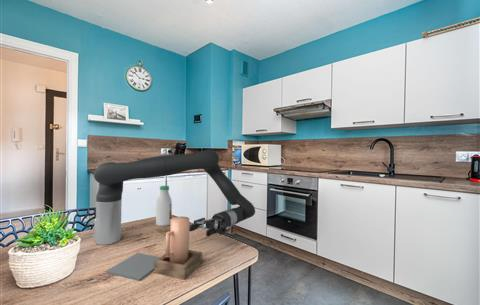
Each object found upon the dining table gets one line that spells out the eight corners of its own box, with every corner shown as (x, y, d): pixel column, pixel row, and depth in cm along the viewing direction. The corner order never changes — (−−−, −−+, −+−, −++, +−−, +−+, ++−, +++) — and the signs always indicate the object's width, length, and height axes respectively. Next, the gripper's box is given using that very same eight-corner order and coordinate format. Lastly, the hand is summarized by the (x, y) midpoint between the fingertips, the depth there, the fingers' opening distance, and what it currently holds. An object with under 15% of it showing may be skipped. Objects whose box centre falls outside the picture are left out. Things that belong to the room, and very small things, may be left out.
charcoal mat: (106, 272, 67) (106, 270, 67) (137, 254, 80) (137, 252, 80) (139, 281, 63) (139, 279, 63) (167, 260, 76) (167, 258, 76)
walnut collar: (154, 272, 68) (154, 261, 68) (174, 256, 78) (174, 247, 78) (184, 279, 65) (184, 268, 65) (201, 262, 75) (202, 252, 75)
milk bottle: (166, 227, 109) (167, 187, 109) (152, 225, 111) (153, 186, 111) (174, 222, 117) (174, 185, 117) (161, 221, 118) (161, 184, 118)
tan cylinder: (179, 260, 76) (180, 215, 76) (192, 266, 72) (193, 218, 72) (159, 271, 69) (160, 221, 69) (172, 278, 65) (173, 225, 65)
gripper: (212, 208, 96) (184, 217, 83) (238, 214, 89) (213, 224, 75) (211, 225, 96) (184, 236, 83) (238, 232, 89) (212, 246, 75)
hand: (198, 231), depth 79 cm, fingers open, 8 cm apart
